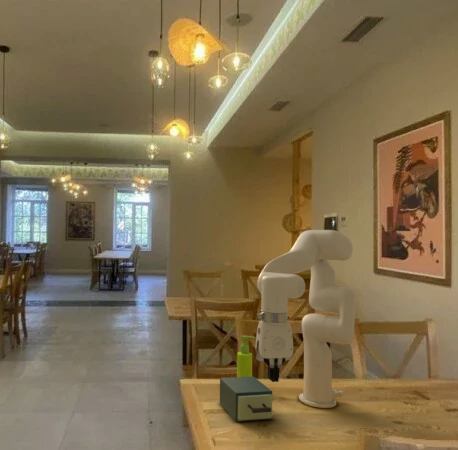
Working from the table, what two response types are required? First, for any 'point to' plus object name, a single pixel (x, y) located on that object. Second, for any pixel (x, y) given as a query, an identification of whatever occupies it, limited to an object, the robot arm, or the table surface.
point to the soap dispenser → (244, 359)
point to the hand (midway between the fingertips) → (273, 380)
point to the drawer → (254, 406)
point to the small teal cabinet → (239, 393)
